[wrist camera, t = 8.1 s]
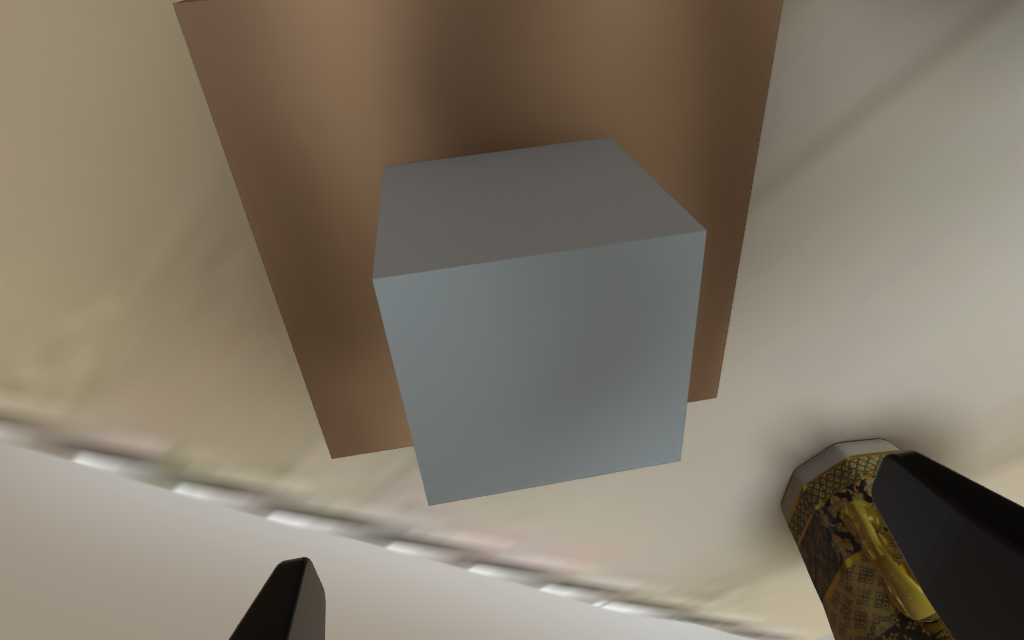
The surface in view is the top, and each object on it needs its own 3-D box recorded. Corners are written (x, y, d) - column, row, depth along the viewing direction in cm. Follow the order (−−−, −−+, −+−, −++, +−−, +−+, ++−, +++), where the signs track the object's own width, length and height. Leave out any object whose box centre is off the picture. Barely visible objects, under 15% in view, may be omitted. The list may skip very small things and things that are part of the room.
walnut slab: (716, -55, 17) (792, -53, 14) (675, 336, 25) (716, 397, 21) (222, -10, 16) (172, 3, 12) (342, 385, 23) (331, 458, 20)
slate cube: (609, 137, 15) (706, 230, 10) (607, 323, 19) (680, 460, 14) (383, 166, 15) (372, 279, 10) (422, 352, 18) (428, 505, 13)
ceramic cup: (956, 468, 32) (1146, 651, 24) (802, 561, 35) (923, 753, 27) (862, 347, 26) (1075, 537, 18) (685, 472, 29) (795, 686, 21)
